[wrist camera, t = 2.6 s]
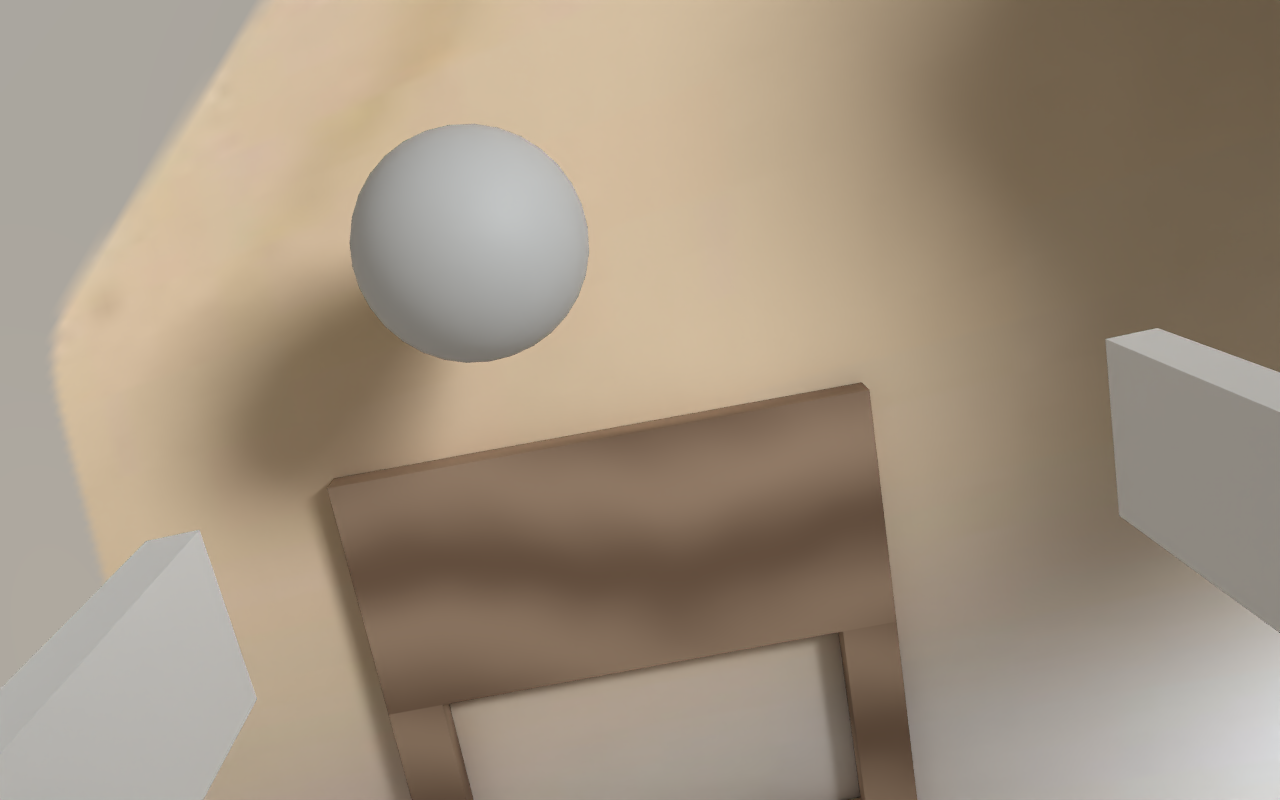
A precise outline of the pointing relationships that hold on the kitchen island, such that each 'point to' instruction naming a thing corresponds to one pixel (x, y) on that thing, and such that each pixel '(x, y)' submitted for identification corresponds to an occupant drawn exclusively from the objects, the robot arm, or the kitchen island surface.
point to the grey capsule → (469, 243)
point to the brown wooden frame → (629, 567)
